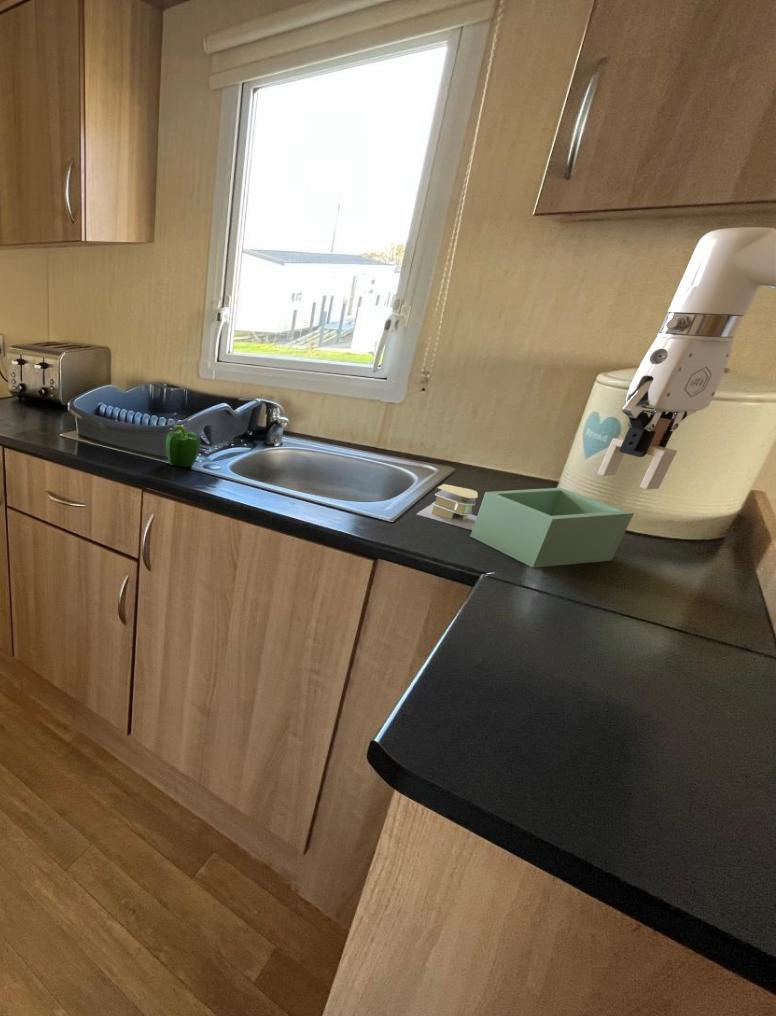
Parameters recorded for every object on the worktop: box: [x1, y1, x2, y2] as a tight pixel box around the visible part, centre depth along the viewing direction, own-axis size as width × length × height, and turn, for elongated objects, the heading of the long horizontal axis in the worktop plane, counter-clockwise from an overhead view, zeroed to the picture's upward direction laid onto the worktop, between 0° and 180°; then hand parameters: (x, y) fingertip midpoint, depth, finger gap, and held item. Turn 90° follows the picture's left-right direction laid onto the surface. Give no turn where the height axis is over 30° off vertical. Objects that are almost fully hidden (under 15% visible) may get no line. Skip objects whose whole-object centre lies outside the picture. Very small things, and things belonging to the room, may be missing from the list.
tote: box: [470, 487, 634, 569], centre depth 96 cm, size 16×12×9 cm
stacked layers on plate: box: [416, 483, 479, 531], centre depth 109 cm, size 10×9×6 cm
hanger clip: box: [597, 415, 678, 490], centre depth 84 cm, size 2×7×10 cm, turn 11°
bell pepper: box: [165, 425, 201, 468], centre depth 136 cm, size 8×8×10 cm
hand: (639, 453), depth 84 cm, fingers closed on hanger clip, 2 cm apart
